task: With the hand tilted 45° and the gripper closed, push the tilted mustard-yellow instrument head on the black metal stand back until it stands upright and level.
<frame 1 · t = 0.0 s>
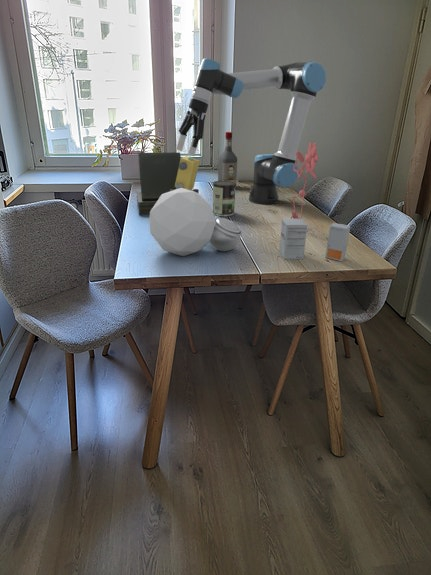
hand: (184, 152, 180), 28 cm above the table, tool tilted 20°, fingers open, 13 cm apart
liquor: (226, 187, 248), on the table
instrument head: (187, 172, 176), point 21 cm above the table, hinge at 14.0°
skincare box: (335, 258, 153), on the table
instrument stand: (183, 222, 186), on the table
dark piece: (162, 209, 205), on the table
supplement box: (290, 256, 154), on the table
figurine: (305, 228, 183), on the table
coffee can: (223, 213, 200), on the table
lamp: (196, 252, 155), on the table
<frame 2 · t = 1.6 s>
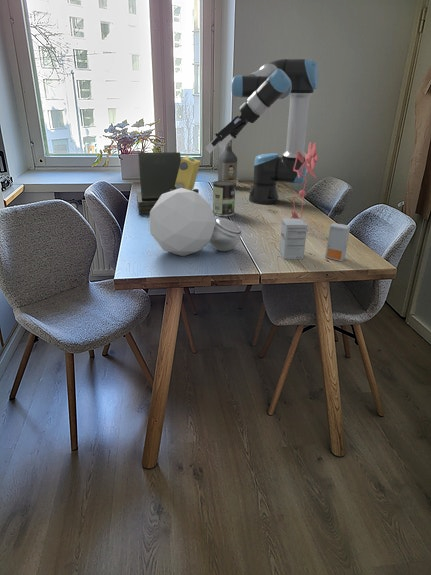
hand: (213, 148, 169), 32 cm above the table, tool tilted 45°, fingers open, 12 cm apart
instrument head: (187, 172, 176), point 21 cm above the table, hinge at 15.4°
everything else where it was.
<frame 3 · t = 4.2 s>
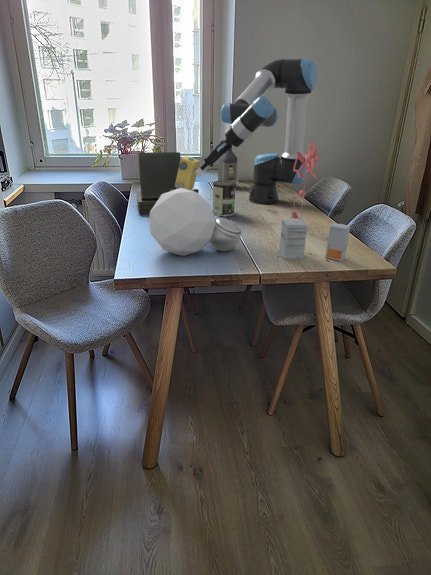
hand: (197, 173, 175), 21 cm above the table, tool tilted 45°, fingers closed
instrument head: (187, 172, 176), point 21 cm above the table, hinge at 14.0°, touching gripper
everything else where it was.
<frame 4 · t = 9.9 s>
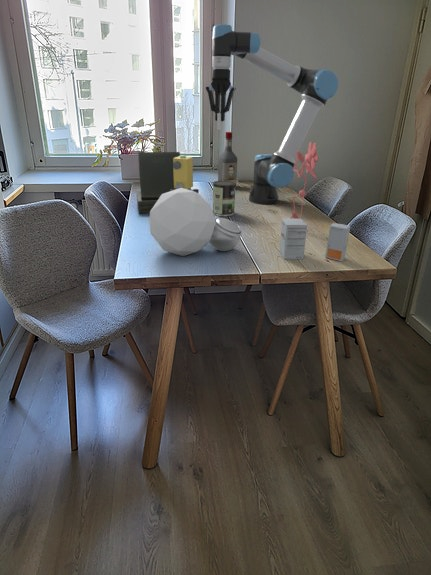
hand: (219, 129, 188), 36 cm above the table, tool pointing down, fingers closed
instrument head: (183, 171, 177), point 21 cm above the table, hinge at -0.6°
at the end: instrument head at -1° (first picture: +14°); coffee can moved 0.2 cm from its start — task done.
